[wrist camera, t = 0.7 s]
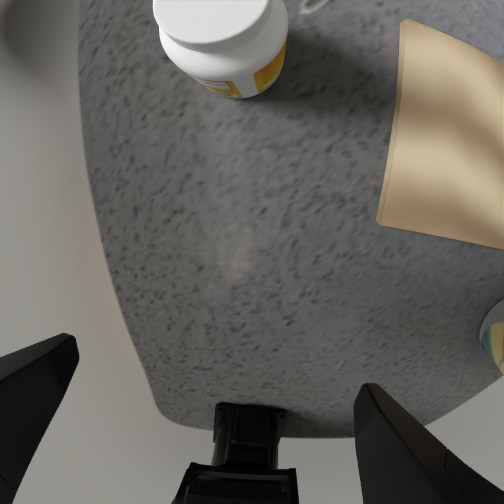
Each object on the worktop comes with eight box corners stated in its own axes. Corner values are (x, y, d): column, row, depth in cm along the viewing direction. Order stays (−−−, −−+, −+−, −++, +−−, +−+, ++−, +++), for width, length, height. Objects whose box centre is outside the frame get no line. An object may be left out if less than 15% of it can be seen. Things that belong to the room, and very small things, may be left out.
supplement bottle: (268, 13, 15) (265, -75, 6) (294, 87, 17) (316, 38, 8) (186, 37, 16) (121, -29, 7) (209, 110, 18) (151, 87, 9)
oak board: (500, 246, 19) (507, 250, 18) (375, 221, 19) (380, 225, 19) (523, 82, 14) (531, 82, 13) (400, 22, 15) (405, 18, 14)
